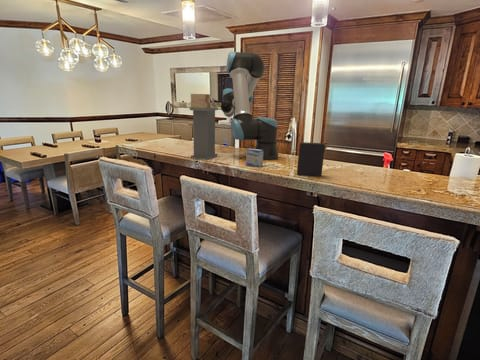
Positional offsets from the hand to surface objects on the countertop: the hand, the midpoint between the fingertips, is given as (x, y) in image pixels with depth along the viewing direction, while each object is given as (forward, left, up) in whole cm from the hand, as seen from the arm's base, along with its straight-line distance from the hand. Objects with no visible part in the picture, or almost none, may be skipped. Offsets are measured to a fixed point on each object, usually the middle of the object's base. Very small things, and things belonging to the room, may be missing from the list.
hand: (222, 99), depth 177 cm
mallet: (0, +17, -4) cm, 17 cm away
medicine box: (-33, +30, -33) cm, 55 cm away
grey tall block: (0, +23, -32) cm, 39 cm away
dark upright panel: (-62, +36, -33) cm, 78 cm away
